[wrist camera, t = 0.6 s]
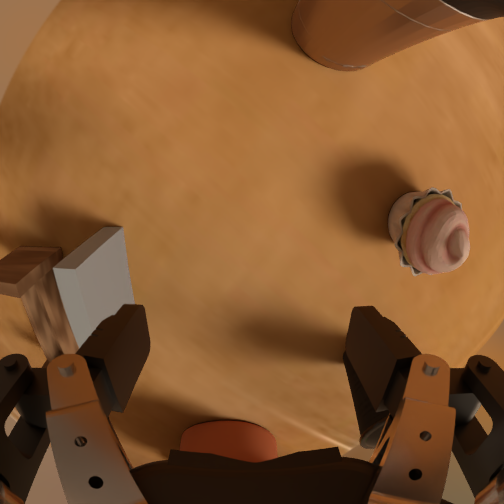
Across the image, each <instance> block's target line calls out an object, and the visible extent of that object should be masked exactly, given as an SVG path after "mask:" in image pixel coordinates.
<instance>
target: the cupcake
mask: <svg viewBox="0 0 504 504" xmlns="http://www.w3.org/2000/svg"><path fill="white" fill-rule="evenodd" d="M388 229H389V234H390V236H391V238H392V240H393V241H394V243H395V247H396V248H397V249H398V251H399V258H400V265H401V266H402V267H410V268H411V271H412V273H413V275H414V276H417V275H419V274H421V273H427V274H429V275H432V274H439V273H443V272H450V271H452V270H455V269H456V268H458V267H459V266H461V265H462V264H463V263H464V261H465V260H466V259H467V257H468V255H469V250H470V243H469V225H468V219H467V216H466V215H465V213H464V211H463V210H462V204H461V203H460V202H458V201H454V199H453V195H452V192H451V190H450V189H447V190H444V191H440V192H439V191H438V190H437V189H436V188H433V187H432V188H430V189H428V190H425V191H423V192H410V193H407V194H404V195H403V196H401V197H400V198H399V199H398V200H397V201H396V202H395V203H394V204H393V206H392V208H391V211H390V214H389V217H388Z"/></svg>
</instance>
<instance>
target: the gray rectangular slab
mask: <svg viewBox="0 0 504 504" xmlns="http://www.w3.org/2000/svg"><path fill="white" fill-rule="evenodd" d="M53 270H54V274H55V278H56V282H57V285H58V289H59V292H60V296H61V299H62V302H63V305H64V308H65V311H66V314H67V317H68V320H69V323H70V326H71V329H72V331H73V334H74V337H75V339H76V342H77V344H78V347H79V348H80V347H81V346H82V344H83V343H84V342H85V341H86V340H87V338H88V337H89V336H91V333H92V332H93V331H94V330H96V327H97V326H98V325H99V324H100V323H101V321H102V320H104V319H106V318H107V317H109V316H111V315H115V314H116V313H117V311H118V310H119V309H120V308H121V306H122V305H123V304H135V302H134V297H133V291H132V286H131V280H130V274H129V268H128V261H127V254H126V247H125V239H124V230H123V227H103V228H102V229H101V230H99V231H98V232H97V233H95V234H94V235H93V236H91V237H90V238H89V239H87V240H86V241H85V242H84V243H82V244H81V245H80V246H79V247H77V248H76V249H75V250H74V251H72V252H71V253H70V254H69V255H67V256H66V257H65V258H64V259H63V260H61V261H60V262H59V263H58V264H57V265H56V266H54V267H53Z"/></svg>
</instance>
